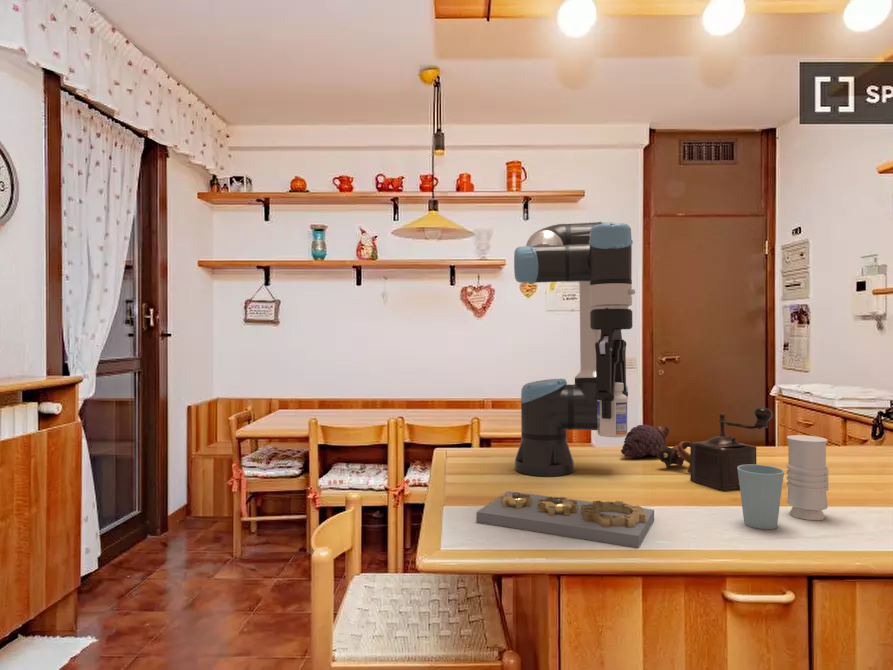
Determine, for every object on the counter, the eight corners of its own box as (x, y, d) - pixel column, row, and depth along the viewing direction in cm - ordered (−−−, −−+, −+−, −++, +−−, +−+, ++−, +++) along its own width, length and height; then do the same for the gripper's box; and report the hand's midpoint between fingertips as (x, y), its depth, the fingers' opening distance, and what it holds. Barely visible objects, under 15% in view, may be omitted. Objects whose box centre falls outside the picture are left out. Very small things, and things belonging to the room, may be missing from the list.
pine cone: (640, 464, 161) (620, 431, 164) (622, 474, 169) (603, 443, 173) (686, 440, 168) (666, 409, 172) (666, 451, 177) (648, 421, 180)
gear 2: (572, 522, 108) (572, 514, 108) (589, 504, 119) (589, 497, 118) (640, 531, 103) (640, 523, 103) (651, 512, 113) (651, 505, 113)
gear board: (476, 522, 115) (476, 511, 115) (508, 500, 129) (508, 491, 129) (638, 547, 101) (638, 535, 101) (654, 520, 115) (654, 509, 115)
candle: (828, 523, 112) (828, 443, 112) (785, 517, 116) (785, 439, 115) (828, 513, 118) (828, 437, 118) (787, 508, 121) (787, 434, 121)
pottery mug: (690, 466, 161) (704, 442, 157) (701, 490, 152) (716, 465, 148) (647, 455, 160) (660, 431, 156) (656, 479, 152) (670, 454, 148)
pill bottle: (599, 432, 114) (598, 381, 115) (628, 433, 113) (628, 381, 113) (595, 436, 109) (595, 383, 109) (626, 438, 107) (626, 384, 108)
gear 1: (532, 512, 114) (532, 501, 114) (545, 502, 121) (545, 491, 121) (571, 518, 110) (571, 506, 110) (582, 506, 117) (582, 496, 117)
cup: (729, 524, 112) (730, 468, 112) (748, 515, 117) (748, 462, 117) (773, 534, 106) (773, 476, 106) (790, 525, 111) (790, 469, 111)
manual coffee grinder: (724, 492, 133) (724, 411, 133) (688, 481, 143) (688, 405, 143) (777, 485, 138) (777, 407, 138) (739, 474, 149) (739, 402, 148)
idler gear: (495, 506, 118) (495, 495, 118) (507, 498, 124) (507, 488, 124) (525, 510, 115) (525, 499, 115) (536, 502, 121) (536, 491, 121)
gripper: (619, 305, 101) (621, 443, 101) (642, 309, 117) (643, 428, 117) (576, 307, 105) (577, 440, 105) (603, 310, 121) (604, 425, 121)
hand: (612, 433), depth 111 cm, fingers closed on pill bottle, 5 cm apart
